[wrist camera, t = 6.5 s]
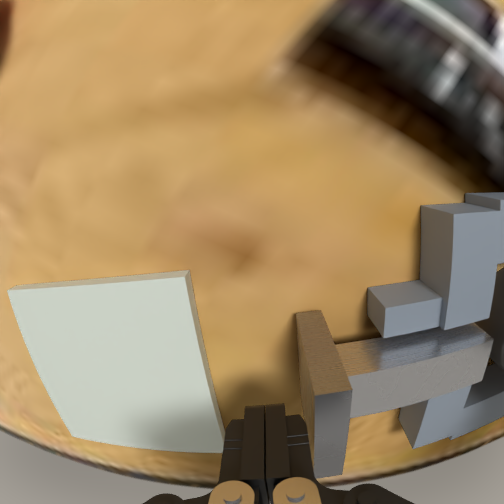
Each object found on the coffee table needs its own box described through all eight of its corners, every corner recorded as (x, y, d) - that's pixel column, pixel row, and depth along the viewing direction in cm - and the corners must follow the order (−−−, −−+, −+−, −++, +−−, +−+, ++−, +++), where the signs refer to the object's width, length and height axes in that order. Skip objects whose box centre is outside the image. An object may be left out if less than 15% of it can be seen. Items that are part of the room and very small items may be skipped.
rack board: (16, 285, 15) (7, 290, 14) (189, 269, 15) (184, 276, 14) (77, 428, 18) (72, 436, 17) (227, 442, 17) (226, 452, 16)
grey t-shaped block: (295, 313, 14) (314, 395, 9) (459, 287, 14) (528, 337, 8) (300, 392, 16) (313, 478, 10) (446, 363, 15) (495, 424, 9)
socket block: (365, 198, 13) (391, 205, 11) (568, 192, 12) (596, 198, 10) (356, 433, 17) (366, 465, 14) (537, 368, 16) (555, 385, 13)
